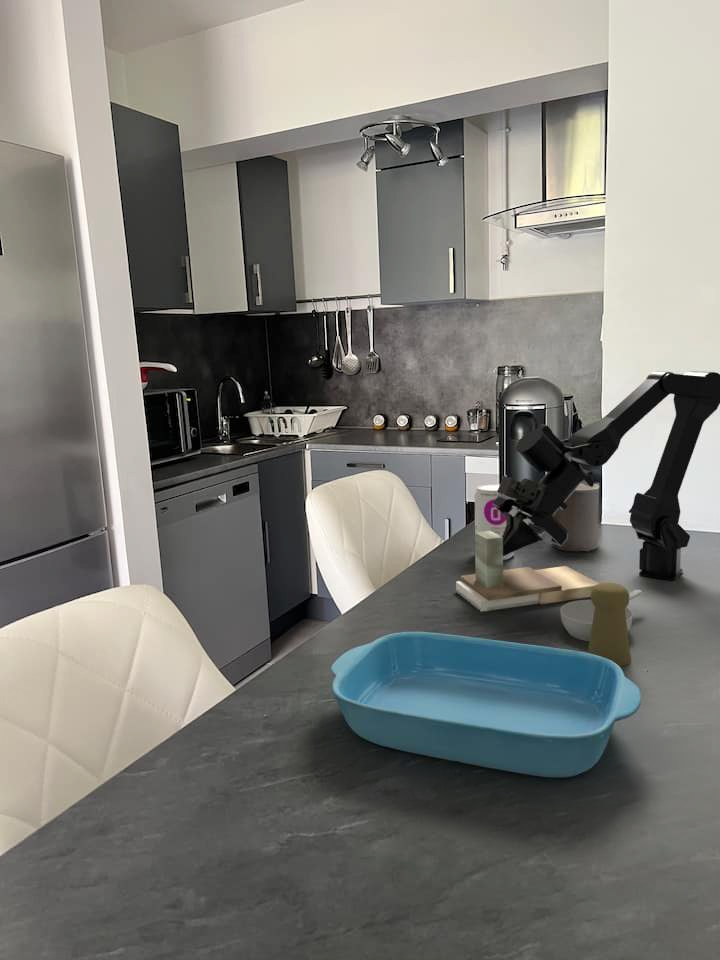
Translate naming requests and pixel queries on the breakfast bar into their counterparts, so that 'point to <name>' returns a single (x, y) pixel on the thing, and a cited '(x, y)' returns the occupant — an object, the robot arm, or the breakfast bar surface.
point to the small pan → (586, 617)
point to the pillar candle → (580, 519)
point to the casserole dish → (484, 701)
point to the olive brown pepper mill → (610, 623)
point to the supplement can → (489, 512)
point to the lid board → (514, 584)
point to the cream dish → (487, 605)
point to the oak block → (566, 585)
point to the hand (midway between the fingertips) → (498, 555)
